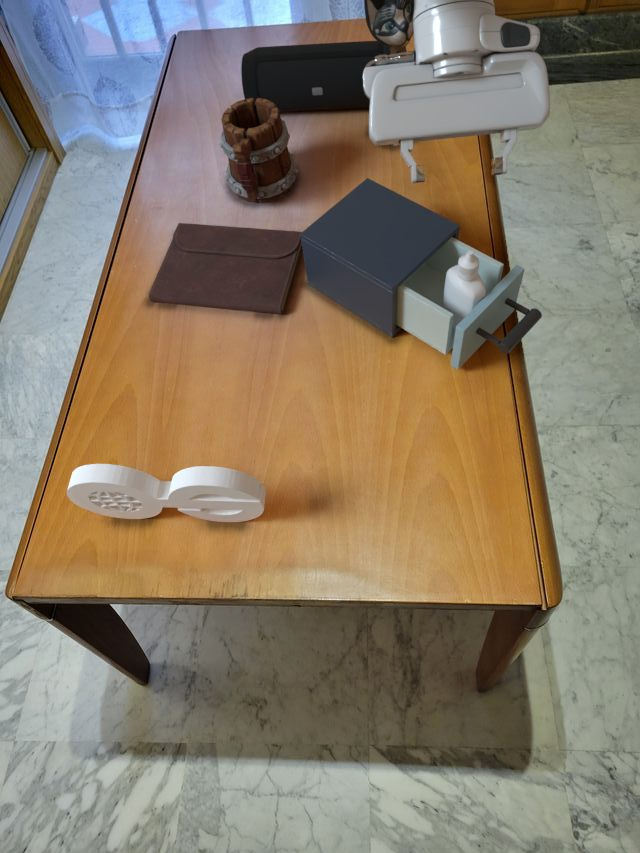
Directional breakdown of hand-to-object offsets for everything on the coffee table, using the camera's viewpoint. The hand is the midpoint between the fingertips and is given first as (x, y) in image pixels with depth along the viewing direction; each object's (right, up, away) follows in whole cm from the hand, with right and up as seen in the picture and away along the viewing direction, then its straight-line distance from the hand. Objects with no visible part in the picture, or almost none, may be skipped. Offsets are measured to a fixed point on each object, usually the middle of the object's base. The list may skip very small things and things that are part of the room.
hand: (458, 178), depth 74 cm
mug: (-25, +10, +29) cm, 40 cm away
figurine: (-4, +21, +33) cm, 39 cm away
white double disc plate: (-33, -39, +1) cm, 51 cm away
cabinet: (-8, -8, +16) cm, 20 cm away
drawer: (+2, -15, +10) cm, 18 cm away
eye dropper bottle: (+2, -15, +9) cm, 18 cm away
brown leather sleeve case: (-30, -6, +20) cm, 36 cm away
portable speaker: (-16, +28, +39) cm, 50 cm away
